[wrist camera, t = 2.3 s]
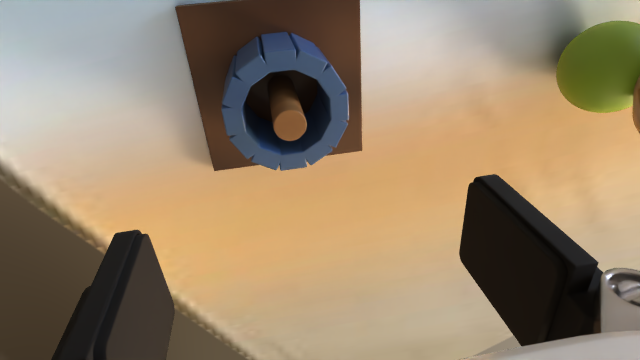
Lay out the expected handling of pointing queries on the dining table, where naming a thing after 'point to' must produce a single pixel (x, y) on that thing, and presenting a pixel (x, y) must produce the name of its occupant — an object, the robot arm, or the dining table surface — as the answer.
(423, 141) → the dining table surface
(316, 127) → the blue ring
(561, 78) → the snail figurine
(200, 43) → the dowel stand
